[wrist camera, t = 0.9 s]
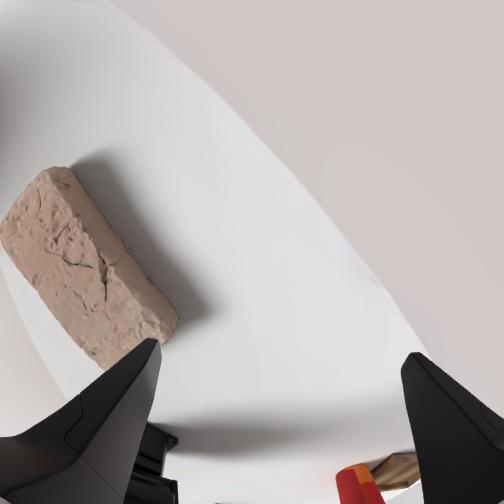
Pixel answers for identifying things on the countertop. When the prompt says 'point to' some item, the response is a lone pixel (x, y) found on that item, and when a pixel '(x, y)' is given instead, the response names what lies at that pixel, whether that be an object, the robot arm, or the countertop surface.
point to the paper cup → (357, 486)
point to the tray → (397, 472)
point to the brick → (83, 269)
